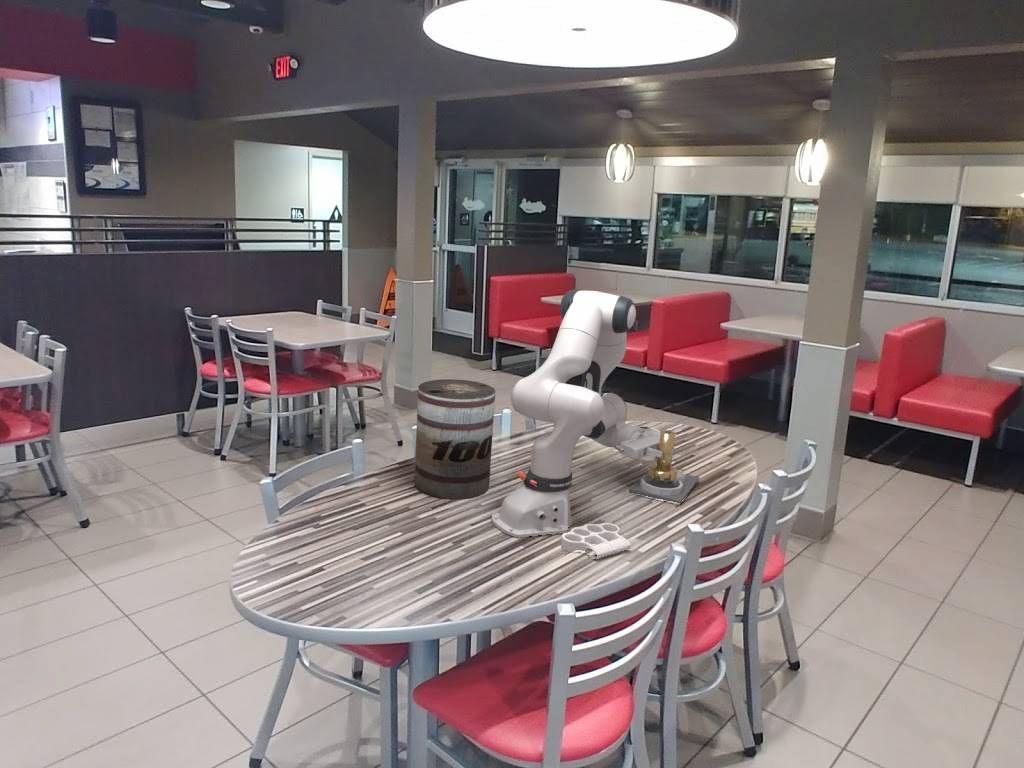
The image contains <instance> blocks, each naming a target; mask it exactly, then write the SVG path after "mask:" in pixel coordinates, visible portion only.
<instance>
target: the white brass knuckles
mask: <svg viewBox="0 0 1024 768" xmlns="http://www.w3.org/2000/svg"><path fill="white" fill-rule="evenodd" d="M620 532H621V528H620V527H619V526H618V525H616V524H615V523H614V524H613V523H611V522H602V523H598V524H597V523H596V524H595V523H585V524H584V525H581V526H575V527H573V528H571V529H570V531H569V530H568V533H563V534H561V541H560V547H561V546H562V547H563V548H565V549H568V550H582V551H585V552H587V551H592V550H593V551H594V552H595V553H596V555H597V556H596V557H597V558H596V560H599V558H600V559H601V557H602V558H605V557H608V556H607V555H609V556H612V555H611V554H613V555H616V554H618V553H617V552H619V553H622V552H625V551H624V550H626V551H628V550H627V549H631V543H630V541H629V540H627V539H626V537H624V536H622V535H620ZM605 539H607V540H611V541H607V540H605ZM591 544H596V545H594V546H593V545H591ZM621 551H622V552H621ZM615 553H616V554H615ZM604 556H605V557H604Z"/></svg>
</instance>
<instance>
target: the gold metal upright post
mask: <svg viewBox="0 0 1024 768" xmlns="http://www.w3.org/2000/svg"><path fill="white" fill-rule="evenodd" d="M660 432H661V433H660V441H659V449H658V450H661V451H664V456H663V457H657V456H656V457H657V459H656V464H652V466H649V467H648V470H649V473H648V474H651V477H652V478H657V479H660V480H662V481H664V480H670V481H672V480H674V478H677V471H675V469H676V468H675V467H674V468H673V467H671V466H672V464H673V463H672V462H673V461H672V460H673V454H674V453H673V448H675V438H676V432H675V431H672V430H667V429H663V430H660Z"/></svg>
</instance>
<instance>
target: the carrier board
mask: <svg viewBox="0 0 1024 768" xmlns="http://www.w3.org/2000/svg"><path fill="white" fill-rule="evenodd" d="M671 467H673V468H675V466H674V465H671ZM675 471H677V478H674V480H672V481H670V480H664V481H662V480H660V479H657V478H652V477H651V474H648V473H649V469H647V470H646V471H645V472H644V473H643V474H642V475H641V476H640V477H639V478H638V479H637V480H636V481H635V482H634V483H633V484H632V485H631V486H630V487H629V488H628V492H629V493H634V494H640V495H644V496H648V497H652V498H657V499H663V500H668V501H673V502H677V503H681V502H682V500H683V499H684V498H685V497H686V495H687V494H688V493H689V492H690V490H691V489H692V488H693V487H694V485H695V484H696V483H697V481H698V480H699V481H700V477H699V476H695V475H690V474H687V473H684V471H683V470H678V469H676V468H675ZM697 484H698V483H697ZM697 484H696V485H697ZM694 488H695V487H694ZM694 488H693V489H694ZM629 493H628V494H629ZM690 493H691V492H690ZM690 493H689V494H690ZM686 498H687V497H686ZM682 503H683V502H682Z"/></svg>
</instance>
